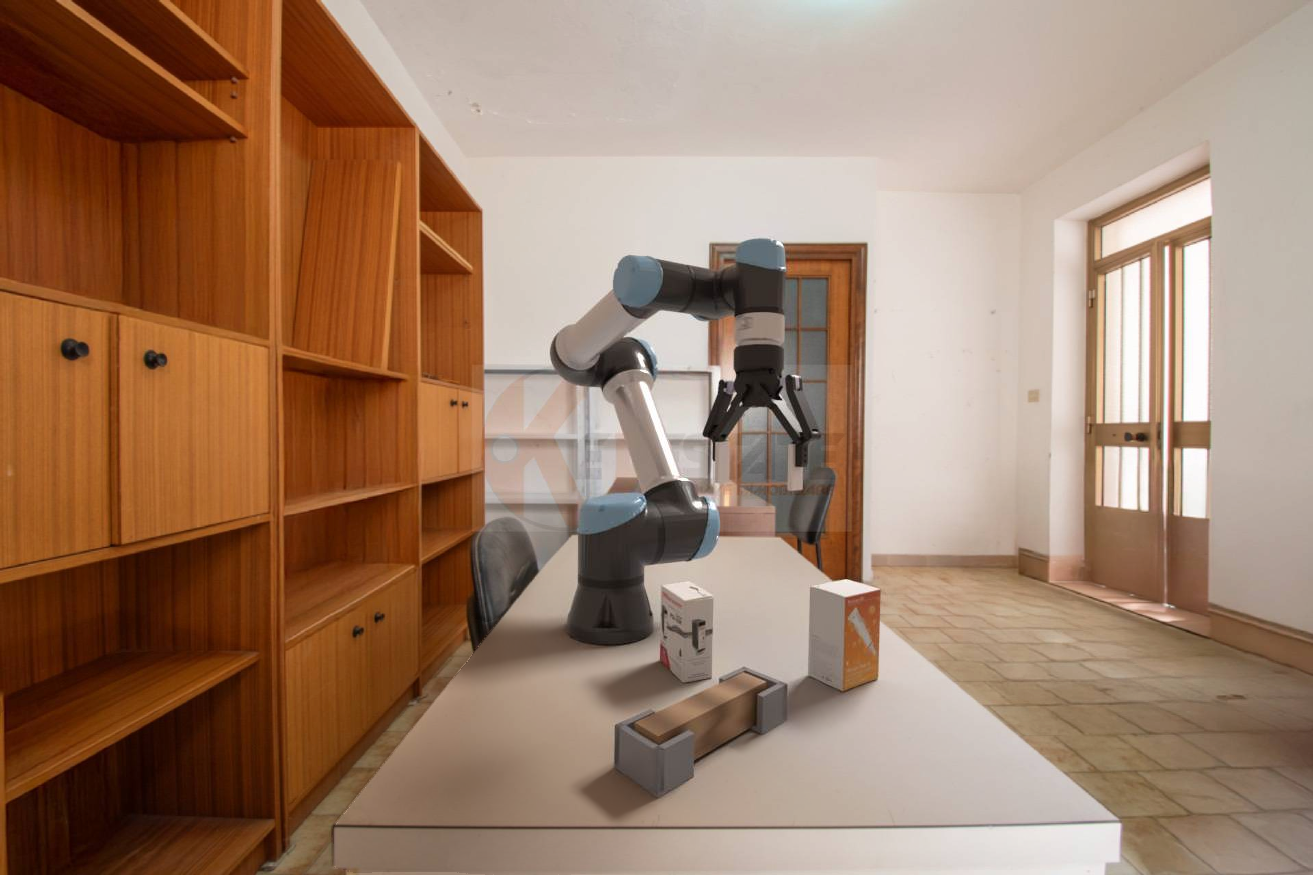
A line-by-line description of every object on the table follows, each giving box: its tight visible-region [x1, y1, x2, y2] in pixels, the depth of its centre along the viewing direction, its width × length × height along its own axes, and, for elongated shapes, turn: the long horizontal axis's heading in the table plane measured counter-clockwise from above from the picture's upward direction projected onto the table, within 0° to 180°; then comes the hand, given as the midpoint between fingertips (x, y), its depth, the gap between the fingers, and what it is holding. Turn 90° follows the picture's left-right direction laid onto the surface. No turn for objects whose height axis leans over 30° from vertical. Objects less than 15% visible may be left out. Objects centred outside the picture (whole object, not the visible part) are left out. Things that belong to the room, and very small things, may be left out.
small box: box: [807, 578, 882, 692], centre depth 80 cm, size 8×6×13 cm
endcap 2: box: [718, 666, 788, 736], centre depth 69 cm, size 7×5×4 cm
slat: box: [635, 672, 766, 761], centre depth 62 cm, size 18×4×4 cm, turn 133°
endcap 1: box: [613, 708, 695, 799], centre depth 57 cm, size 7×5×4 cm
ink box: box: [659, 581, 715, 683], centre depth 82 cm, size 9×5×12 cm, turn 23°
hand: (756, 486), depth 85 cm, fingers open, 13 cm apart
